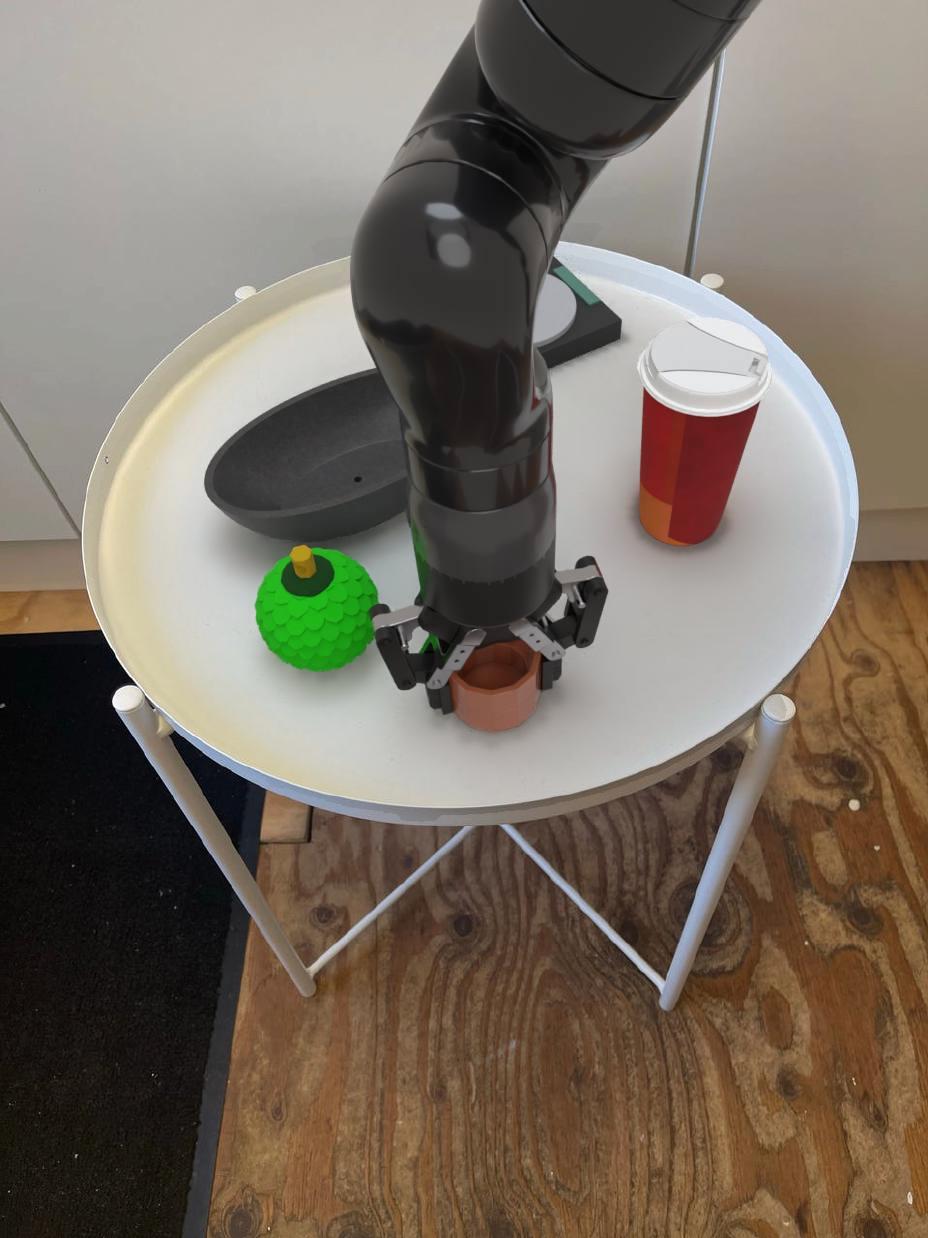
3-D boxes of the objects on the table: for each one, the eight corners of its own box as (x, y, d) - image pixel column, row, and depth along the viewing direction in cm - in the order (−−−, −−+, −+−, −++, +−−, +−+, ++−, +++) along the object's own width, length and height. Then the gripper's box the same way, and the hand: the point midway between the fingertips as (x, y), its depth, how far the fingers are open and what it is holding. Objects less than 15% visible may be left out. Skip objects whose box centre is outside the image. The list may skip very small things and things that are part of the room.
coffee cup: (748, 492, 73) (791, 328, 61) (717, 571, 69) (756, 412, 57) (642, 463, 75) (662, 299, 63) (605, 538, 71) (620, 378, 59)
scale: (548, 269, 91) (548, 244, 88) (620, 338, 84) (622, 313, 82) (425, 317, 87) (422, 293, 85) (491, 393, 81) (489, 368, 79)
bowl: (521, 484, 75) (521, 424, 70) (261, 607, 69) (240, 552, 64) (445, 395, 81) (439, 335, 76) (201, 502, 76) (177, 444, 71)
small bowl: (525, 648, 66) (524, 604, 62) (550, 722, 62) (552, 681, 58) (440, 668, 65) (433, 626, 61) (461, 744, 62) (455, 704, 58)
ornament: (247, 664, 66) (207, 574, 58) (316, 582, 70) (288, 487, 62) (343, 714, 64) (315, 627, 56) (409, 626, 68) (392, 532, 59)
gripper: (359, 608, 47) (398, 766, 61) (641, 543, 48) (617, 712, 62) (334, 499, 51) (376, 669, 65) (593, 442, 53) (581, 620, 66)
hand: (494, 690), depth 63 cm, fingers closed on small bowl, 6 cm apart
